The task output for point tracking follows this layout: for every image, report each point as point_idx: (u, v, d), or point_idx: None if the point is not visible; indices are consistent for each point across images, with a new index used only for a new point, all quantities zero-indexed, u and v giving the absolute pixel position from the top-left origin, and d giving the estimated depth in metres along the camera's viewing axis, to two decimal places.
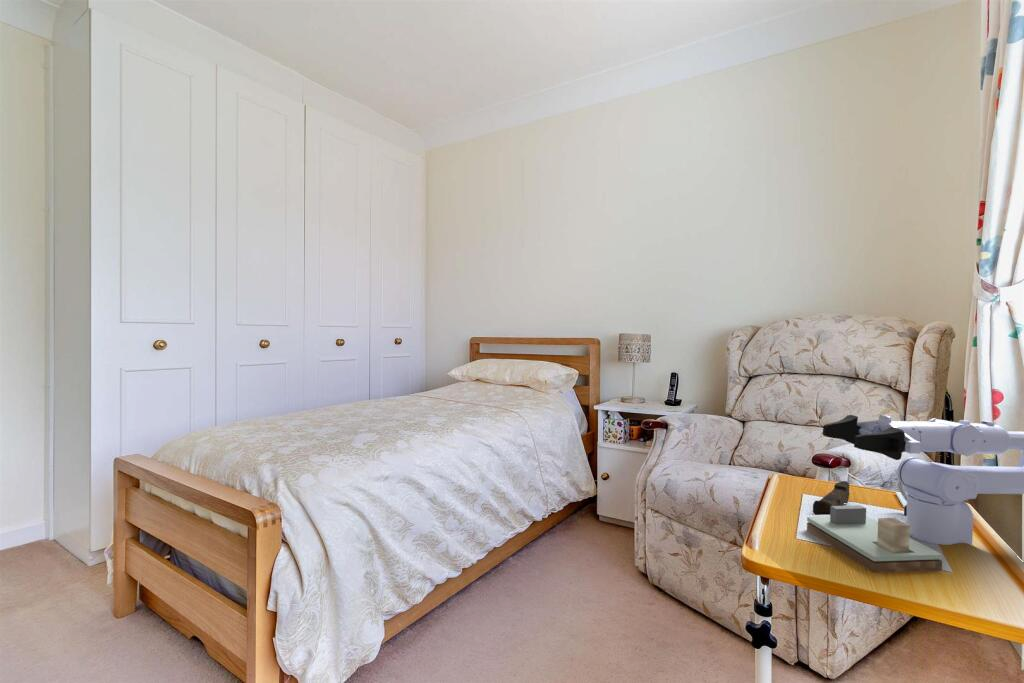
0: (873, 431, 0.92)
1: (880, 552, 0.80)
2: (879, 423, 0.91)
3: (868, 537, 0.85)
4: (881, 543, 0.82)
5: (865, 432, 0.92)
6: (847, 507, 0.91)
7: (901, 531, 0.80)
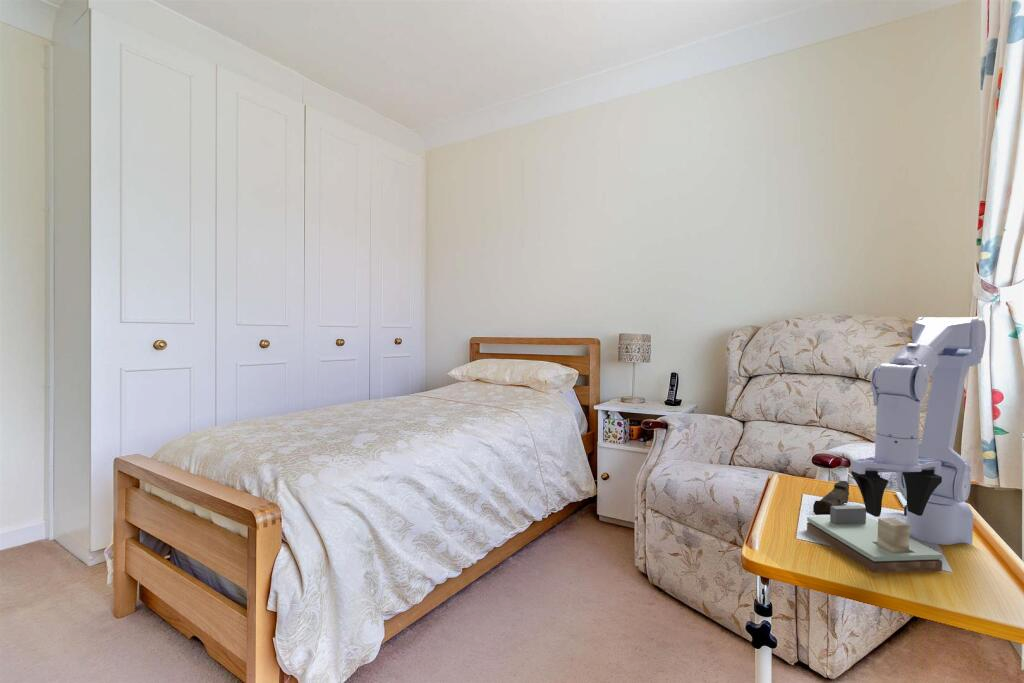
0: None
1: (880, 552, 0.80)
2: None
3: (868, 537, 0.85)
4: (881, 543, 0.82)
5: None
6: (847, 507, 0.91)
7: (901, 531, 0.80)
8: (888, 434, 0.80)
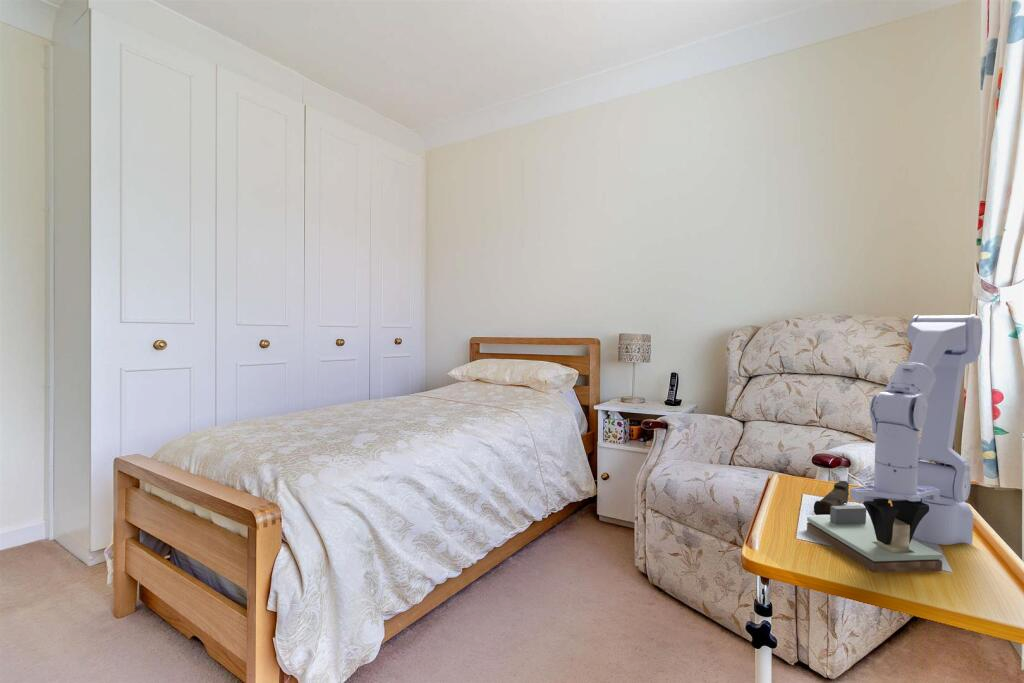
0: None
1: (880, 552, 0.80)
2: None
3: (868, 537, 0.85)
4: (881, 543, 0.82)
5: None
6: (847, 507, 0.91)
7: (901, 531, 0.80)
8: (887, 463, 0.80)
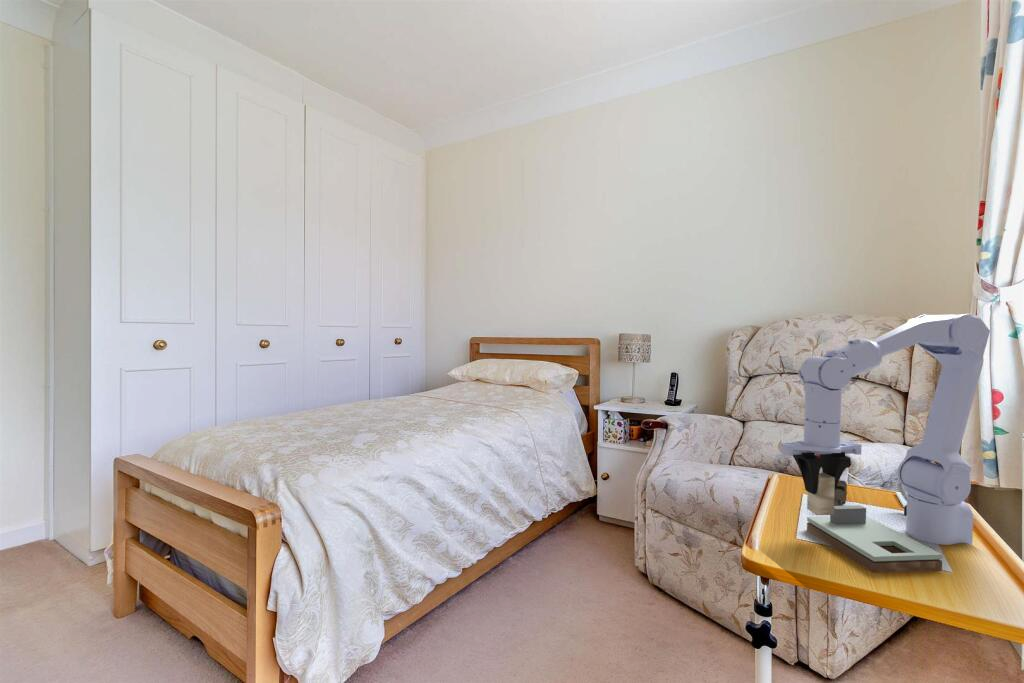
0: None
1: (880, 552, 0.80)
2: None
3: (868, 537, 0.85)
4: (810, 495, 0.90)
5: None
6: (847, 507, 0.91)
7: (827, 483, 0.88)
8: (806, 418, 0.90)
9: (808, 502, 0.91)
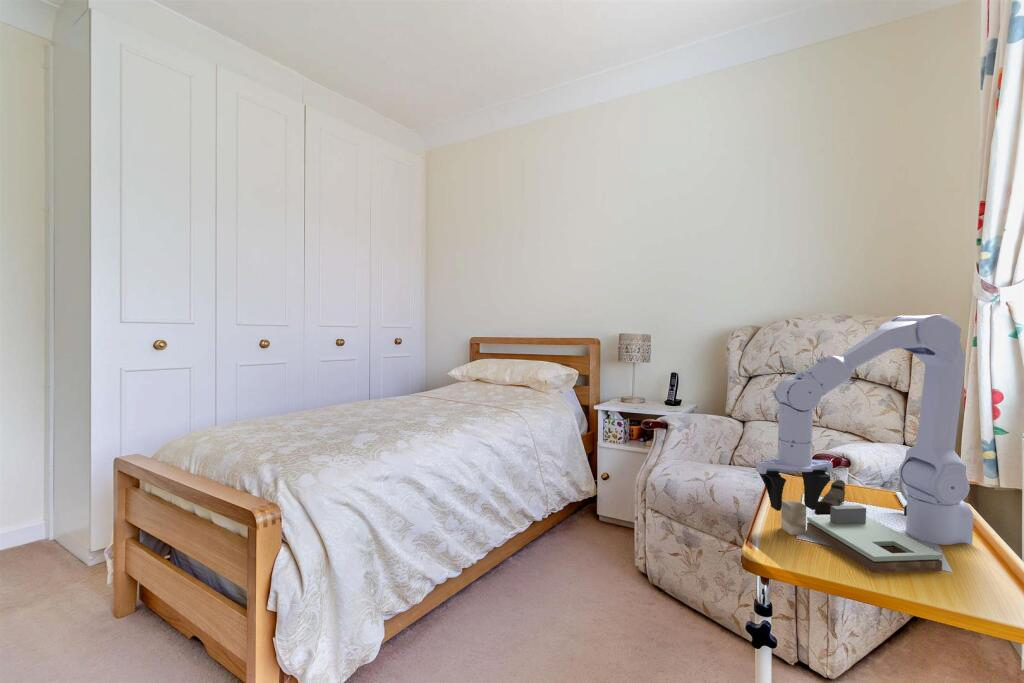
0: None
1: (880, 552, 0.80)
2: None
3: (868, 537, 0.85)
4: (783, 522, 0.94)
5: None
6: (847, 507, 0.91)
7: (799, 511, 0.92)
8: (779, 437, 0.94)
9: None
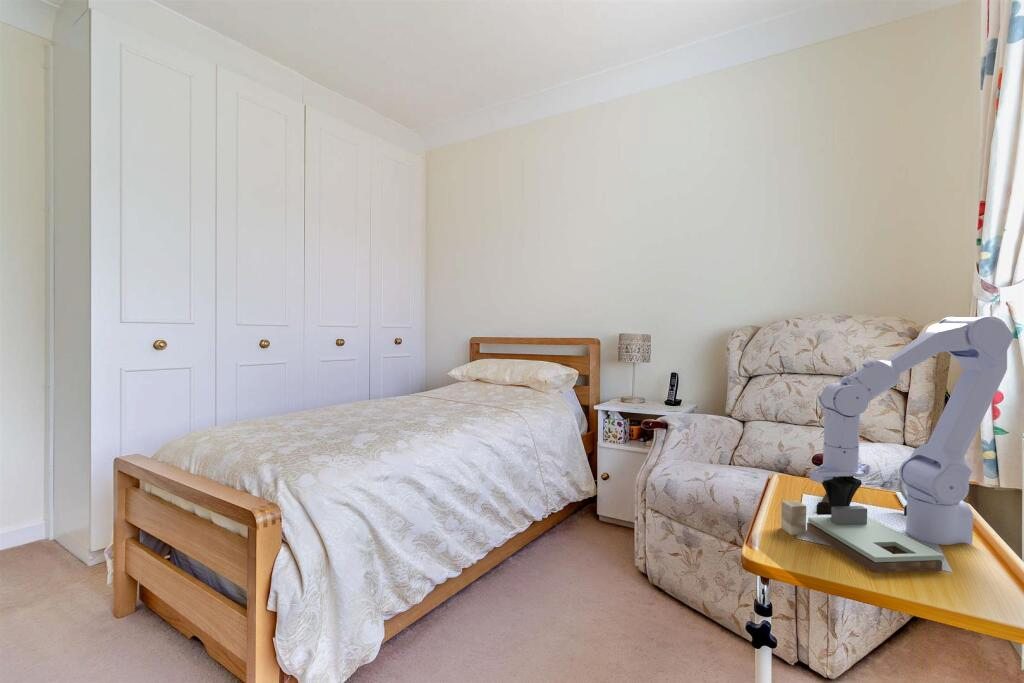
0: None
1: (881, 552, 0.80)
2: None
3: (869, 538, 0.85)
4: (783, 522, 0.94)
5: None
6: (848, 508, 0.91)
7: (799, 511, 0.92)
8: (824, 442, 0.94)
9: None
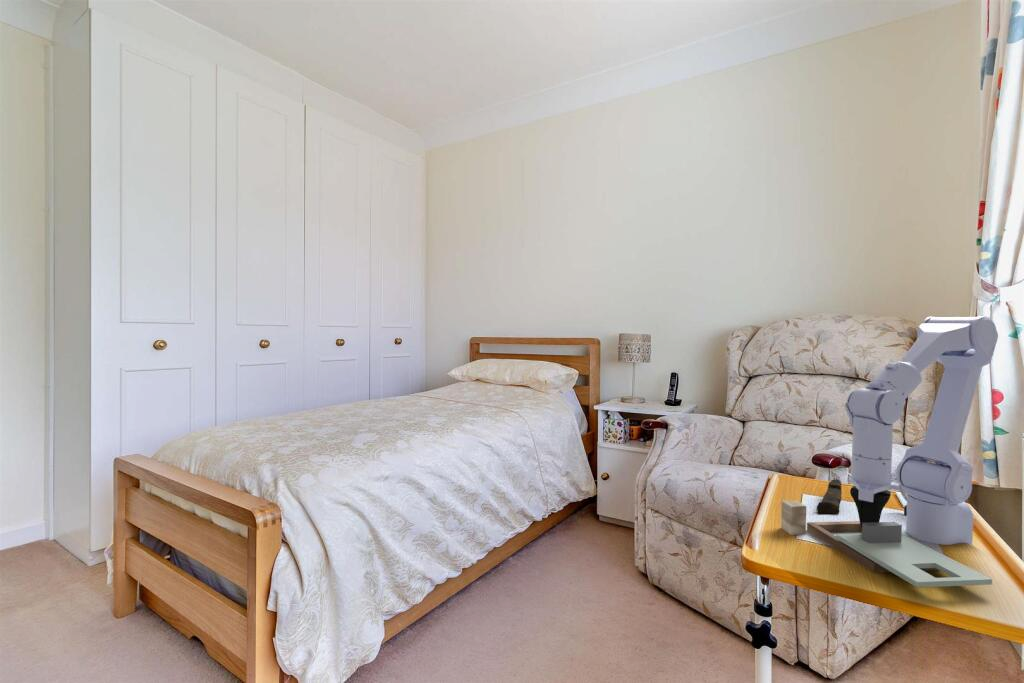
0: None
1: (922, 576, 0.72)
2: None
3: (906, 558, 0.78)
4: (783, 522, 0.94)
5: None
6: (881, 524, 0.84)
7: (799, 511, 0.92)
8: (858, 454, 0.85)
9: None
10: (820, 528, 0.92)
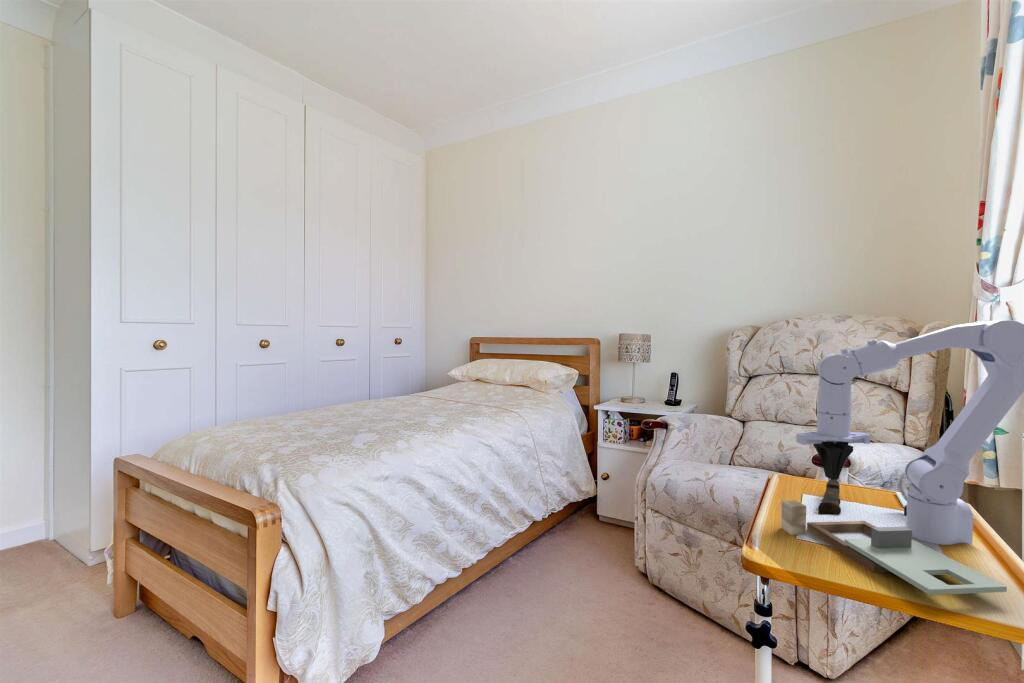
0: None
1: (935, 583, 0.70)
2: None
3: (917, 564, 0.76)
4: (783, 522, 0.94)
5: None
6: (891, 529, 0.82)
7: (799, 511, 0.92)
8: (817, 409, 0.99)
9: None
10: (820, 528, 0.92)
